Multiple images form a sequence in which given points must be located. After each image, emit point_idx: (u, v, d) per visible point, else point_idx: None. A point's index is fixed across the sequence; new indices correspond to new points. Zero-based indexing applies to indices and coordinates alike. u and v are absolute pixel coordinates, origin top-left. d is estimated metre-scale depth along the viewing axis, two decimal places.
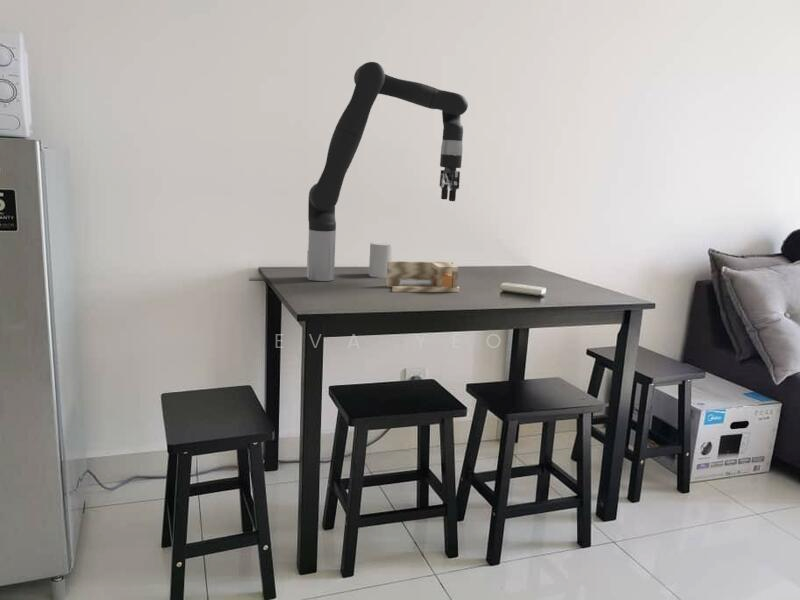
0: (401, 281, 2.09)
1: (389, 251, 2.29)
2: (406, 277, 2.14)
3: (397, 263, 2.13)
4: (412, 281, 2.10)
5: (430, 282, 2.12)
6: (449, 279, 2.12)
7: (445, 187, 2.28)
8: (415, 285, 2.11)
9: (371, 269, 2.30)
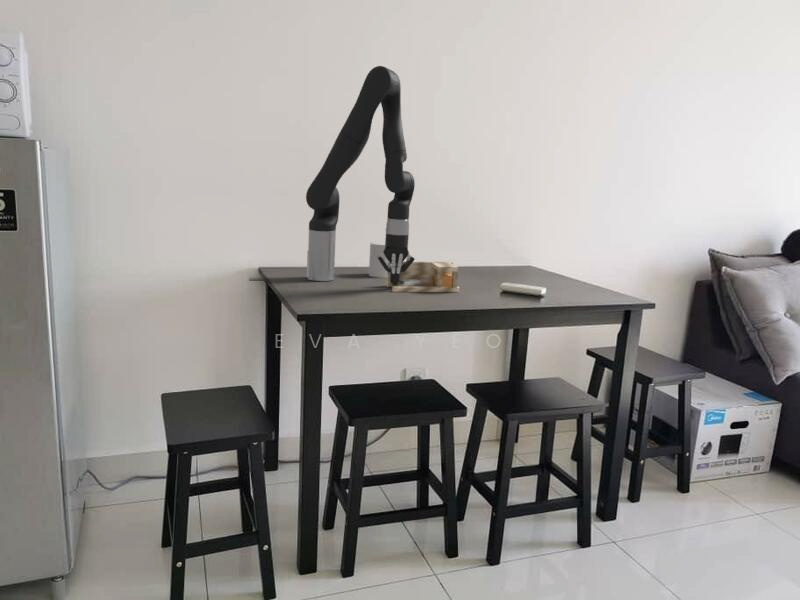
0: (405, 282, 2.08)
1: None
2: (406, 277, 2.14)
3: None
4: (415, 282, 2.10)
5: (430, 281, 2.13)
6: (449, 279, 2.12)
7: None
8: (417, 285, 2.11)
9: (371, 269, 2.30)
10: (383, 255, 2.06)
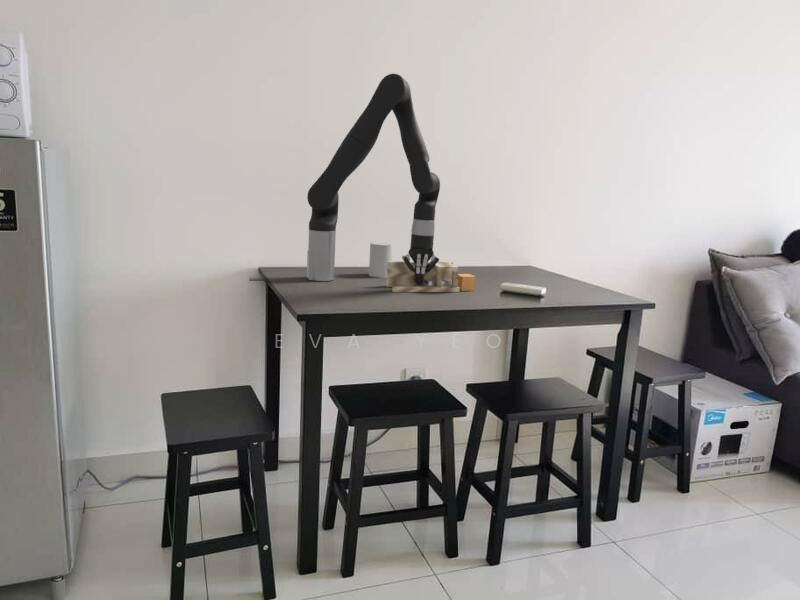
0: (429, 282, 2.10)
1: (389, 251, 2.29)
2: (406, 277, 2.14)
3: (397, 263, 2.13)
4: None
5: None
6: (472, 280, 2.14)
7: None
8: (443, 286, 2.12)
9: (371, 269, 2.30)
10: (408, 255, 2.09)
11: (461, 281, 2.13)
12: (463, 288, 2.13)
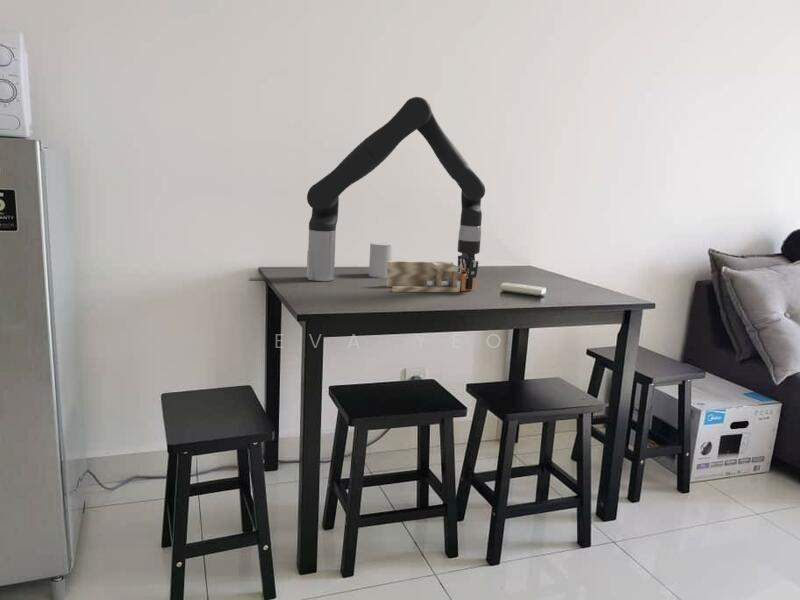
0: (428, 282, 2.10)
1: (389, 251, 2.29)
2: (406, 277, 2.14)
3: (397, 263, 2.13)
4: None
5: (457, 282, 2.13)
6: None
7: None
8: (442, 286, 2.12)
9: (371, 269, 2.30)
10: None
11: (461, 281, 2.13)
12: (463, 288, 2.14)
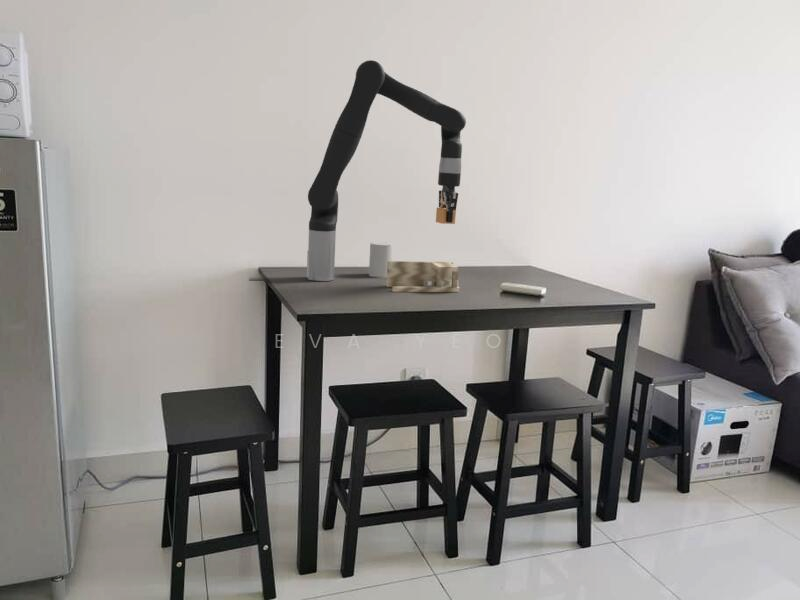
0: (429, 282, 2.10)
1: (389, 251, 2.29)
2: (406, 277, 2.14)
3: (397, 263, 2.13)
4: None
5: None
6: None
7: None
8: (442, 286, 2.12)
9: (371, 269, 2.30)
10: None
11: (441, 213, 2.15)
12: (443, 220, 2.15)
